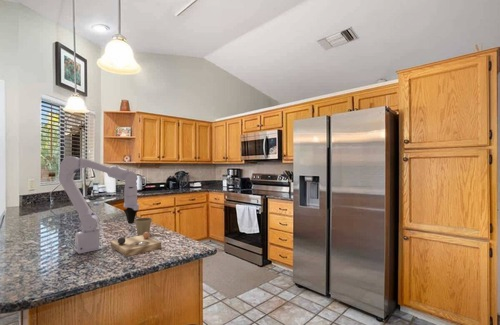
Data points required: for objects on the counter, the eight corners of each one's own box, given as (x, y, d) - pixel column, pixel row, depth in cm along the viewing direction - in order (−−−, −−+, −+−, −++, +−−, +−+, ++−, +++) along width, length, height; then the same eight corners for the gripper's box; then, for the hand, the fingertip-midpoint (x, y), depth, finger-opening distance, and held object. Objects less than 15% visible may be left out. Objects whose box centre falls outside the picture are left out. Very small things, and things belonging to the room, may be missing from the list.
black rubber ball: (119, 245, 116) (119, 238, 117) (116, 244, 119) (116, 237, 119) (126, 244, 119) (126, 237, 119) (124, 242, 121) (124, 235, 121)
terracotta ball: (144, 239, 126) (144, 233, 126) (141, 238, 128) (141, 232, 128) (150, 238, 128) (150, 231, 128) (148, 237, 130) (148, 230, 130)
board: (125, 256, 110) (125, 250, 110) (110, 246, 124) (110, 241, 124) (161, 247, 121) (161, 242, 121) (143, 239, 135) (143, 234, 135)
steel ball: (140, 246, 116) (139, 240, 118) (136, 250, 117) (135, 244, 119) (146, 247, 119) (146, 241, 121) (142, 251, 120) (142, 245, 122)
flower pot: (140, 237, 138) (139, 221, 138) (131, 235, 144) (131, 219, 144) (155, 234, 146) (155, 218, 146) (146, 231, 151) (146, 216, 152)
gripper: (145, 196, 125) (145, 224, 124) (133, 194, 135) (133, 219, 135) (130, 197, 120) (130, 226, 119) (119, 195, 130) (119, 222, 130)
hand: (130, 223), depth 127 cm, fingers closed
